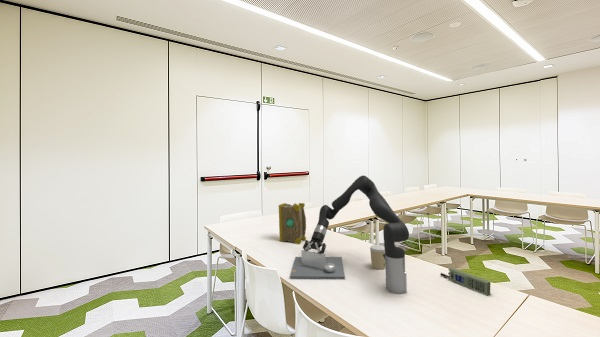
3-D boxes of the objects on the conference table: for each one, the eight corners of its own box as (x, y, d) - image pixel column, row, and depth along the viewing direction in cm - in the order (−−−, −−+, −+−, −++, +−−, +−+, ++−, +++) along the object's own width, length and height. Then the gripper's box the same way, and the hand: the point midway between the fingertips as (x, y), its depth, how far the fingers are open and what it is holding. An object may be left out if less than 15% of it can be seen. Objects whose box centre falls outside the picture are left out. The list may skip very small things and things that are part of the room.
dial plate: (341, 259, 183) (341, 256, 183) (345, 279, 153) (344, 276, 153) (295, 259, 185) (295, 256, 185) (290, 278, 156) (290, 276, 155)
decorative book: (278, 241, 224) (277, 204, 223) (285, 237, 234) (284, 201, 233) (300, 244, 215) (299, 205, 214) (307, 240, 225) (306, 203, 224)
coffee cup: (387, 270, 163) (387, 250, 162) (370, 269, 164) (370, 249, 164) (385, 264, 172) (385, 245, 171) (370, 263, 174) (369, 244, 173)
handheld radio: (487, 296, 131) (438, 276, 153) (491, 295, 132) (442, 275, 155) (487, 282, 131) (438, 264, 153) (491, 281, 132) (442, 263, 154)
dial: (337, 269, 161) (336, 255, 161) (331, 273, 156) (331, 258, 156) (305, 262, 174) (304, 248, 174) (299, 265, 169) (299, 251, 169)
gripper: (331, 238, 176) (322, 262, 168) (312, 235, 184) (303, 258, 176) (326, 232, 172) (317, 257, 163) (307, 229, 180) (297, 252, 171)
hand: (310, 257), depth 169 cm, fingers open, 8 cm apart
